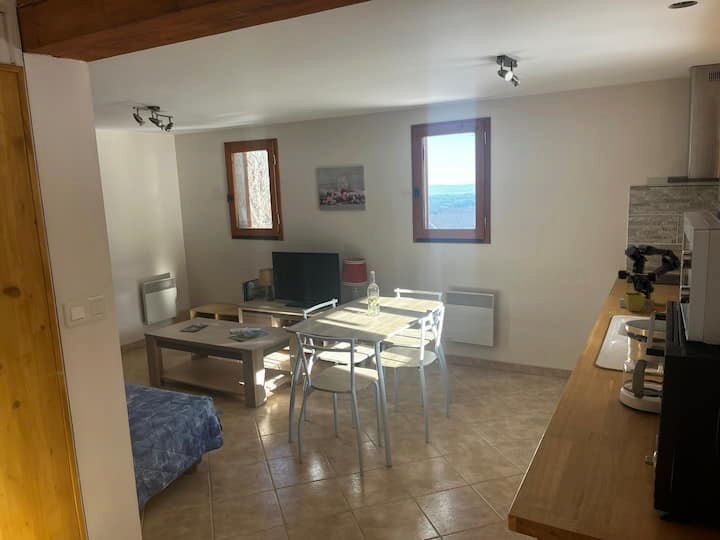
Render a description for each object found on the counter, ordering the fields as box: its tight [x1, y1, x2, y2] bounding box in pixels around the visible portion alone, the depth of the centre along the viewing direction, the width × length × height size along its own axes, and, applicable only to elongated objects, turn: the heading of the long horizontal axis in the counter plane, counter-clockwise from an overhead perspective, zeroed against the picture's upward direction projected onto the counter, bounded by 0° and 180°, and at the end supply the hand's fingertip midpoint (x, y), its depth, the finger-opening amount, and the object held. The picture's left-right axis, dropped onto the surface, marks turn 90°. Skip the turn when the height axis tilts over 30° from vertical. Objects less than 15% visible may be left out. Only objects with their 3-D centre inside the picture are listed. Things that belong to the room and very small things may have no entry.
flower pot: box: [623, 291, 646, 312], centre depth 283 cm, size 9×9×9 cm
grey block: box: [619, 297, 627, 309], centre depth 292 cm, size 4×4×4 cm
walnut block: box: [642, 299, 655, 310], centre depth 288 cm, size 4×4×4 cm
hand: (635, 289), depth 290 cm, fingers closed
